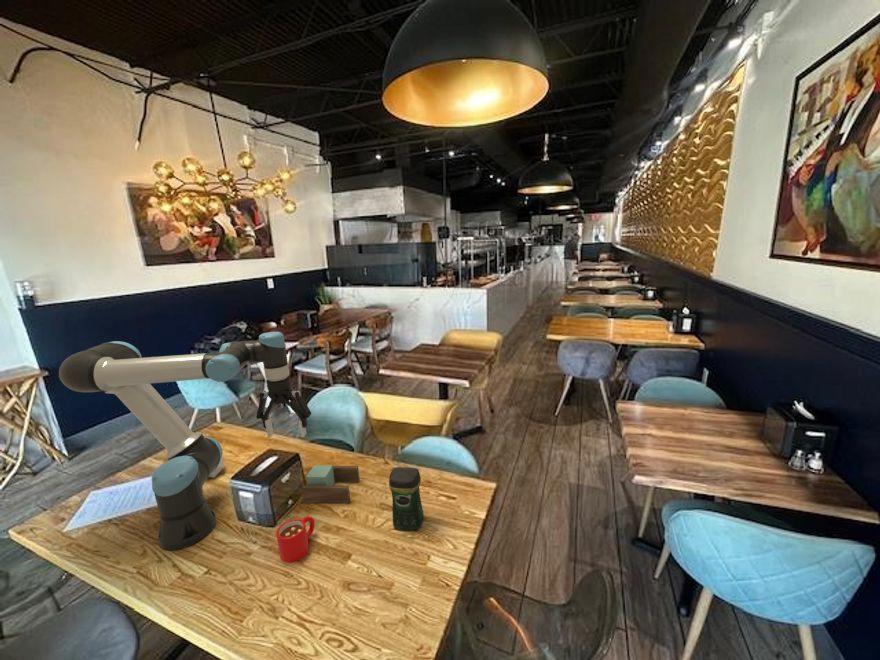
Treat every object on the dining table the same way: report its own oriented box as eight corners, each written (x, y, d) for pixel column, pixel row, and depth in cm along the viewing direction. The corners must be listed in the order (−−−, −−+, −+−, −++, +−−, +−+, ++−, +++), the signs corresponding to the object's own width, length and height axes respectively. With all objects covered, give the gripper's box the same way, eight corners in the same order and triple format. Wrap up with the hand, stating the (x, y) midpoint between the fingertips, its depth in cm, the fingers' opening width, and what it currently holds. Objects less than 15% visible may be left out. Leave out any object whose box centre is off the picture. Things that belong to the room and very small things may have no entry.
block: (328, 497, 130) (325, 477, 128) (308, 496, 131) (306, 477, 129) (335, 484, 137) (332, 465, 135) (316, 484, 138) (314, 465, 136)
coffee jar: (425, 514, 120) (422, 463, 115) (420, 533, 112) (416, 479, 108) (397, 512, 121) (392, 462, 117) (389, 530, 114) (384, 477, 110)
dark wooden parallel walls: (348, 503, 127) (347, 488, 125) (300, 503, 128) (298, 488, 127) (359, 479, 139) (358, 465, 138) (315, 479, 141) (313, 465, 139)
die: (231, 472, 150) (225, 448, 153) (216, 474, 141) (210, 449, 144) (212, 481, 149) (206, 457, 152) (195, 483, 141) (190, 458, 144)
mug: (324, 535, 113) (321, 513, 111) (294, 566, 102) (290, 542, 101) (305, 528, 116) (302, 506, 115) (274, 557, 106) (269, 534, 104)
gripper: (316, 372, 128) (323, 430, 133) (250, 374, 130) (260, 430, 134) (307, 380, 120) (315, 440, 125) (238, 382, 122) (248, 441, 127)
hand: (287, 435), depth 130 cm, fingers open, 11 cm apart
